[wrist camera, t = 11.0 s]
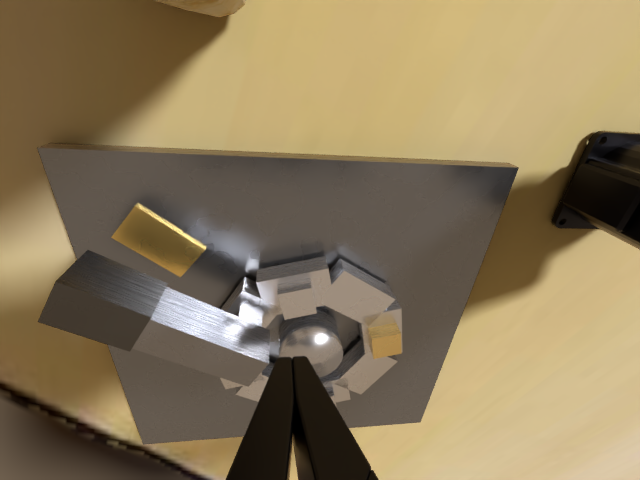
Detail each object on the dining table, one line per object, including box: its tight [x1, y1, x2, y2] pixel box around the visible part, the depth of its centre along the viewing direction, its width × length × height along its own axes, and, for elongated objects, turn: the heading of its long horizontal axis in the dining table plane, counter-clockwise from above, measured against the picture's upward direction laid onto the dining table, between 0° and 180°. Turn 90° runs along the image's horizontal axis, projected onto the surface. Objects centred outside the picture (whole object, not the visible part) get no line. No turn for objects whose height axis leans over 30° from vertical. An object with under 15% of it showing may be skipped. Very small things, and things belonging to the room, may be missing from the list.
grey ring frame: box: [38, 250, 403, 407], centre depth 20 cm, size 21×13×5 cm, turn 53°
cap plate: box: [37, 143, 518, 444], centre depth 23 cm, size 26×26×3 cm
